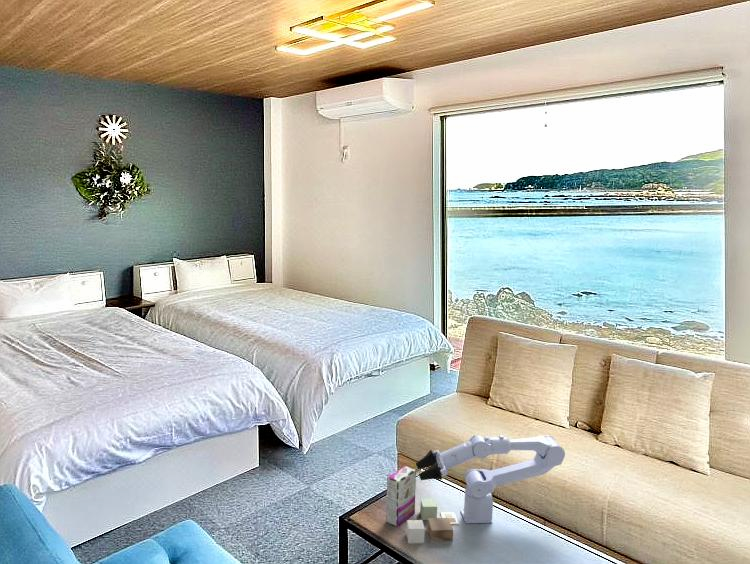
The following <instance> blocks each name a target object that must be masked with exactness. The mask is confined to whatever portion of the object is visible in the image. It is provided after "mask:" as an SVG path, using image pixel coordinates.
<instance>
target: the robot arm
mask: <svg viewBox="0 0 750 564" xmlns="http://www.w3.org/2000/svg"><path fill="white" fill-rule="evenodd" d="M511 451H534V452H536V454H535V456H534V458H533V459H530V460H526V461H522V462H518V463H516V464H511V465H507V466H503V467H499V468H495V469H486V468H480V469H476V468H470V469H468V470H467V471H466V473H465V475H464V482H465V483H466V487H465V490H464V502H463V503H464V505H463V508H461V509H460V513H461V516H462V518H463V521H464V523H465V524H493V511H494V510H493V509H494V500H493V495H492V493H493V492H494V490H495V489H496V487H499V486H500V487H501V486H504V485H508V484H511V483H512V484H513V483H515V482H518V481H524V480H527V479H531V478H534V477H535V478H536V477H539V476H543V475H545V474H547V473H548V472H549V471H551V470H553V468H555V467H556V466H561V465H562V463H563V461H564V459H565V456H566V452H565V449H564V448H563V446H560V444H559V443H558V442H557V441H556V439H555V438H554V437H553V436H551V435H548V434H547V435H543V434H541V435H537V436H534V437H525V438H523V437H522V438H516V439H509V438H508V437H507V436H504V435H503V434H500V435H498V436H490V437H489V436H488V435H486V436H485V437H483V436H481V435H473V436H471V437H470V438H469V440H468V441H466V442H463V443H461V444H459V445H456V446H454V447H451V448H449V449H447V450H444V451H443V452H440V450H439V449H436V450H432V449H431V450H429V451H428V452H427V453H426V455H424V456H423V457H422V458H421V459H420V460H418V461H417V462H416V463H415V466H416V467H417V469H418V470H421V469H425V468H427V469H425V470H423V471H421V472H420V473H418V476H419V479H420V481H425V480H427V481H428V480H443V477H446V476H448V475H449V473H448V470H449V469H451V468H454V467H456V466H459V465H461V464H463V463H466V462H468V461H471V460H473V459H475V458H479V459H486V458H488V457H489V456H493V455H508V454H509V453H510V452H511ZM428 467H429V468H428Z"/></svg>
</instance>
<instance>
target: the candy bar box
mask: <svg viewBox="0 0 750 564" xmlns="http://www.w3.org/2000/svg"><path fill="white" fill-rule="evenodd" d="M416 478H417V470H416V469H415V468H412V467H409V466H407V465H404V466H403V467H400V469H397V471H395V472H393V473H392V474H390V475H389V476H387V477H386V519H385V520H386V522H385V523H388V524H390V525H392V526H394V527H399V526H400V525H401V524H403V523H404V522H405V521H407V520H409V518H410V517H412V516H413V515H414V514H415V513H416V512H415V511H416V484H417V482H416V480H417V479H416Z"/></svg>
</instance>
